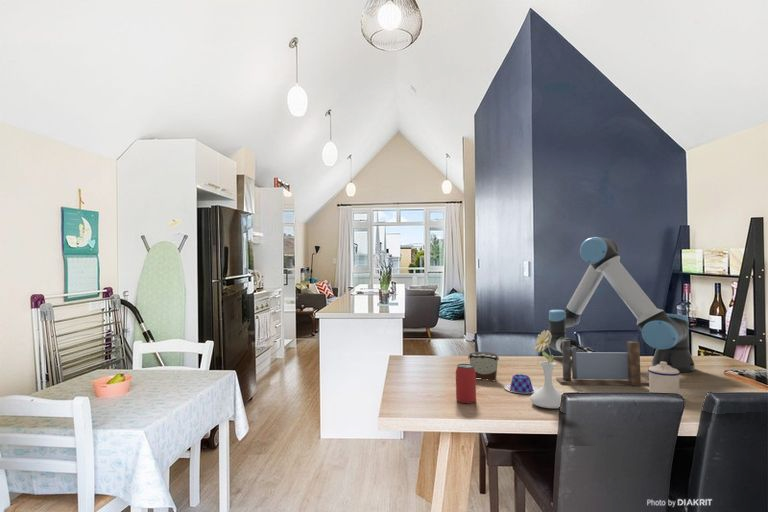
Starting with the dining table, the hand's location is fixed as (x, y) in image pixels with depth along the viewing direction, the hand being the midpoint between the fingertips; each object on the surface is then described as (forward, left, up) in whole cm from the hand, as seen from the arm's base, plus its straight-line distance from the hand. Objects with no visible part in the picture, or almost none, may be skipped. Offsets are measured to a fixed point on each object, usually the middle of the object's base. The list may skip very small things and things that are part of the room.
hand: (597, 358), depth 171 cm
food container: (+45, +5, -7) cm, 46 cm away
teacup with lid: (-12, +24, -7) cm, 28 cm away
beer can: (+55, +34, -7) cm, 65 cm away
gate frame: (+2, +10, -7) cm, 13 cm away
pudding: (+34, +20, -8) cm, 40 cm away
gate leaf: (+2, +10, -6) cm, 12 cm away
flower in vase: (+29, +38, -7) cm, 49 cm away
